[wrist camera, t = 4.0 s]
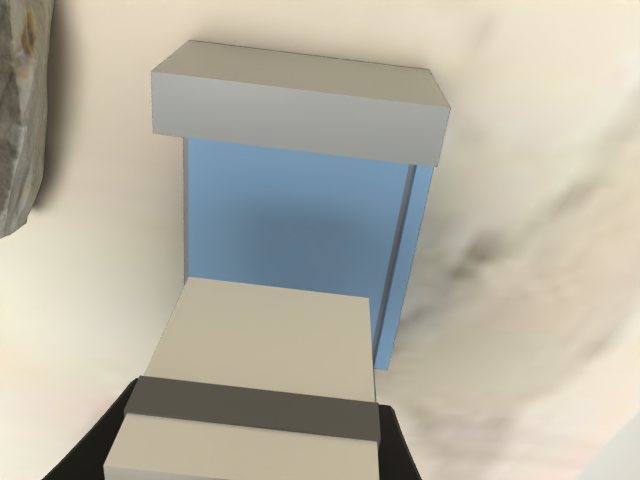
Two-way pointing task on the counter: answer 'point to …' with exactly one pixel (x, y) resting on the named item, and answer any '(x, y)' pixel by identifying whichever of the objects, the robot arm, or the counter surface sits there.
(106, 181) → the counter surface
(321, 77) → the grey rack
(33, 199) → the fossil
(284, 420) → the block
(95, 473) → the robot arm
